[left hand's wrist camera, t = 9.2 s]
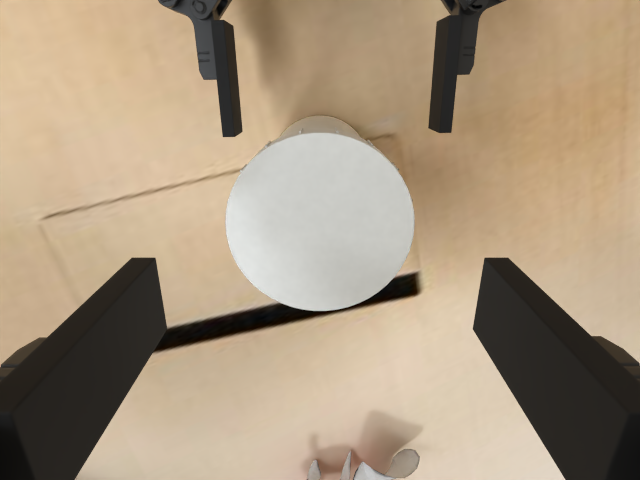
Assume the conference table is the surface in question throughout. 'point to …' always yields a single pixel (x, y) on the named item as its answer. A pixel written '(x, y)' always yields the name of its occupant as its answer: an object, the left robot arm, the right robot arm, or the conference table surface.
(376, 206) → the lid
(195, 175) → the conference table surface
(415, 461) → the fish
